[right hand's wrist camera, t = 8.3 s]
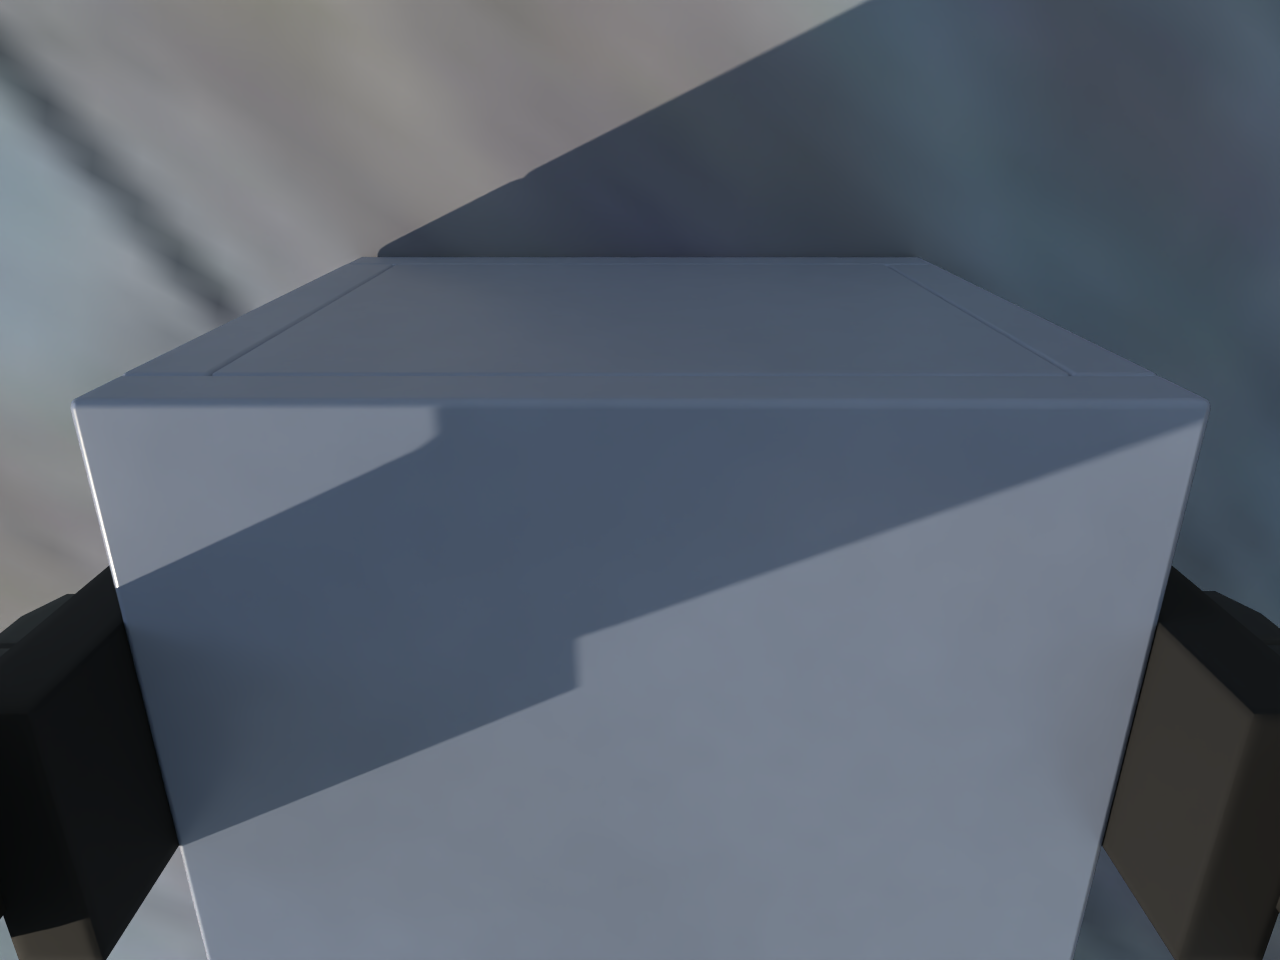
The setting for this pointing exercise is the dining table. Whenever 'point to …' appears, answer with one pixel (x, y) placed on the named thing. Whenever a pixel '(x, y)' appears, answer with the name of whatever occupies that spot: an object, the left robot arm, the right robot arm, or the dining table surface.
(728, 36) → the dining table surface
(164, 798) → the right robot arm
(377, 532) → the cabinet
